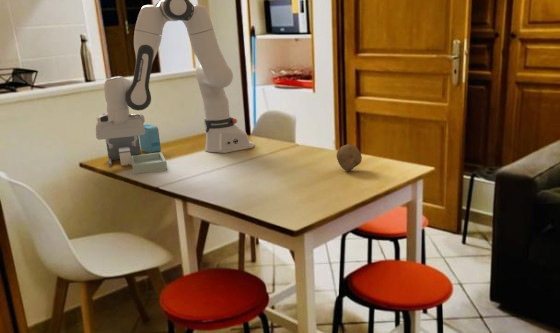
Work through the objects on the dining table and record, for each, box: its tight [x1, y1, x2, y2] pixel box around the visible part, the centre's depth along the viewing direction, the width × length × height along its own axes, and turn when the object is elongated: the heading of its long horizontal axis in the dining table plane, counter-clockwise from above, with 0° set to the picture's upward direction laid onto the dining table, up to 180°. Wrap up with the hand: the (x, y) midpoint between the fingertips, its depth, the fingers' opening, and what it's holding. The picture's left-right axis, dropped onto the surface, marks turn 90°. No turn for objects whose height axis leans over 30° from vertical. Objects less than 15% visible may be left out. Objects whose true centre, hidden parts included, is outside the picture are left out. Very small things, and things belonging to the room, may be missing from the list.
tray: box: [130, 151, 168, 175], centre depth 215 cm, size 13×17×4 cm
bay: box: [105, 136, 142, 168], centre depth 225 cm, size 14×13×11 cm
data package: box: [139, 124, 162, 154], centre depth 241 cm, size 12×4×12 cm, turn 40°
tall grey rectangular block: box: [119, 146, 132, 166], centre depth 224 cm, size 4×9×6 cm, turn 19°
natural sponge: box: [336, 143, 363, 172], centre depth 190 cm, size 9×9×10 cm
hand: (122, 147), depth 223 cm, fingers open, 8 cm apart
